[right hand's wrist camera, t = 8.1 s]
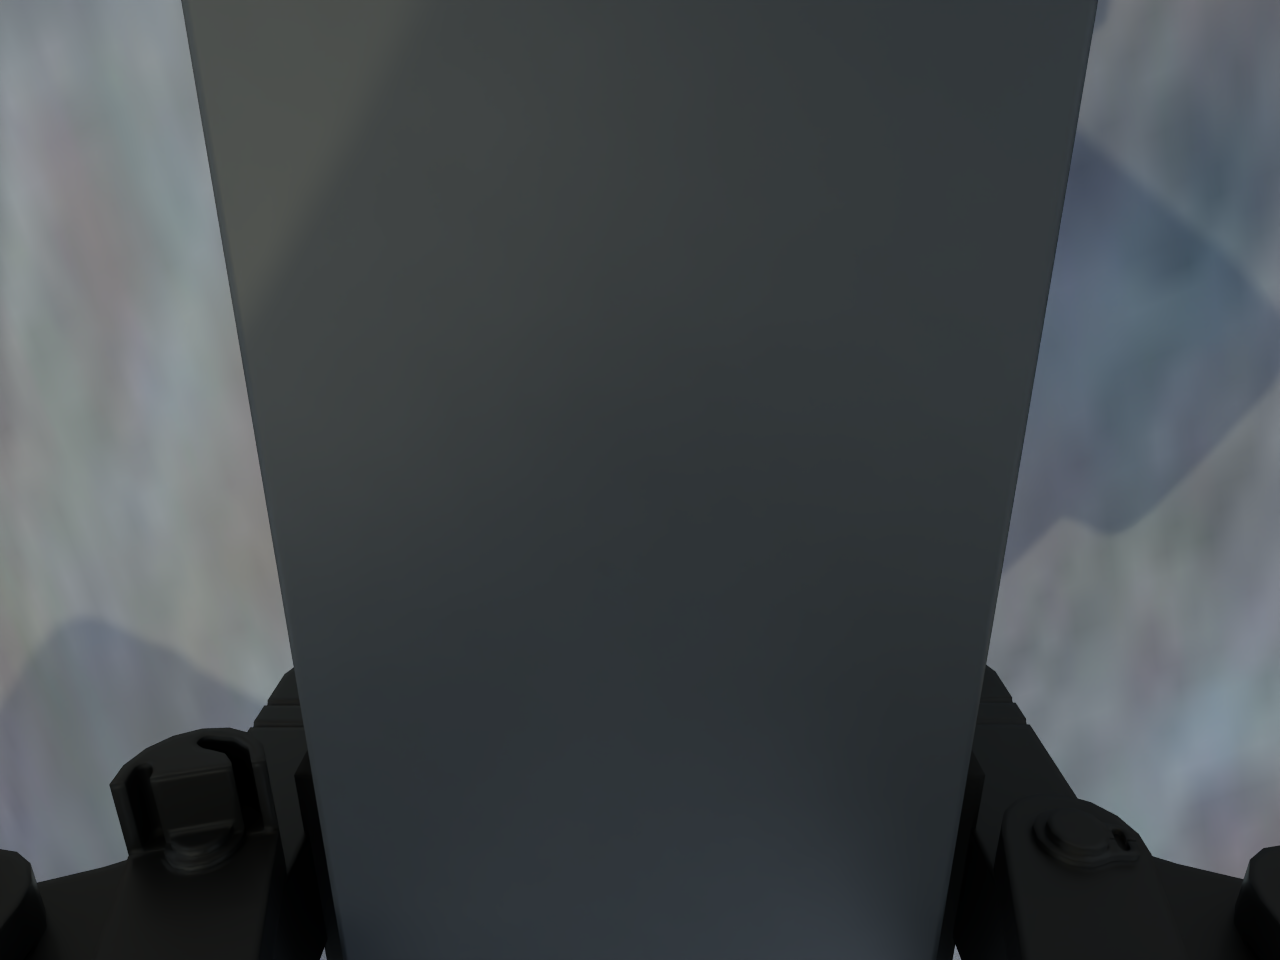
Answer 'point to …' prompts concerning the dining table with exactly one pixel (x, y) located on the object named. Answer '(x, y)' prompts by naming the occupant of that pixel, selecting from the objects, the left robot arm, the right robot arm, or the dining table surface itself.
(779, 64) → the bar
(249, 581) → the dining table surface
